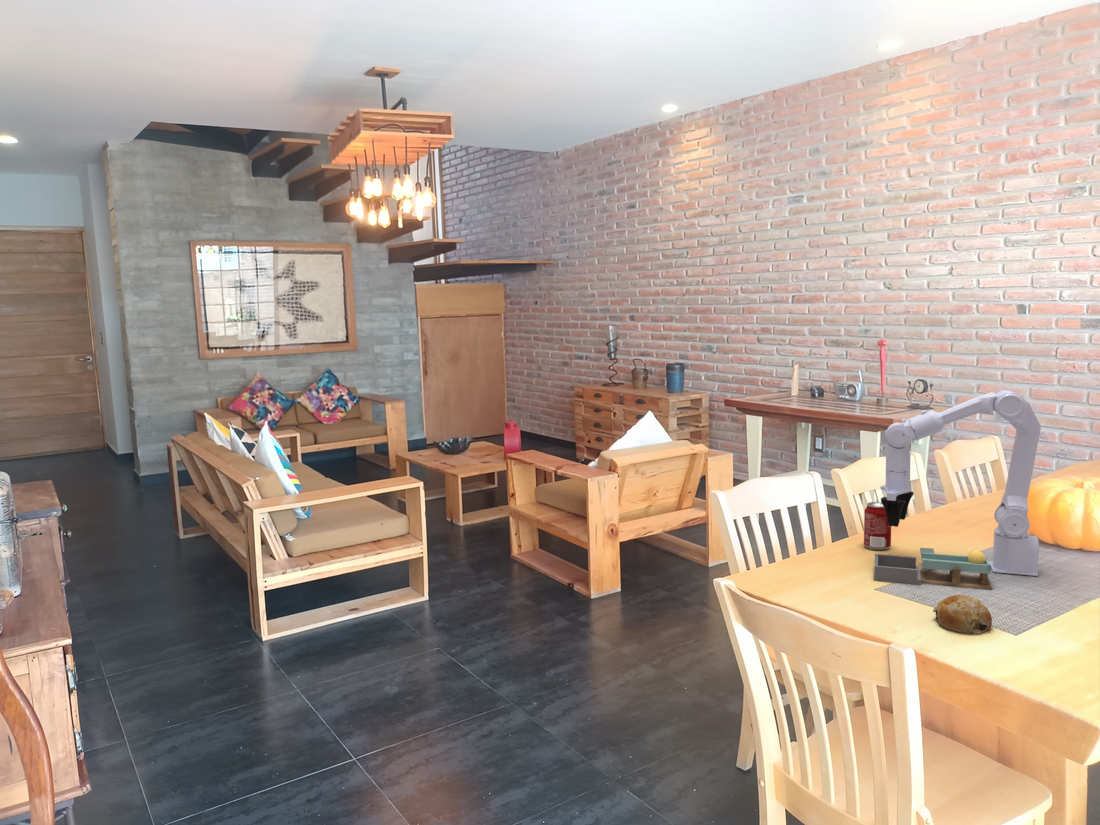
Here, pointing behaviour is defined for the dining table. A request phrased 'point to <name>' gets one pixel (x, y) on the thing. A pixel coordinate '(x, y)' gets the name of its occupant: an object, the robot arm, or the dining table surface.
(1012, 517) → the robot arm
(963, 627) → the bread roll
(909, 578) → the tray
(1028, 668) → the dining table surface
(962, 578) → the base
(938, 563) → the lever
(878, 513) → the soda can
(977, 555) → the ball
